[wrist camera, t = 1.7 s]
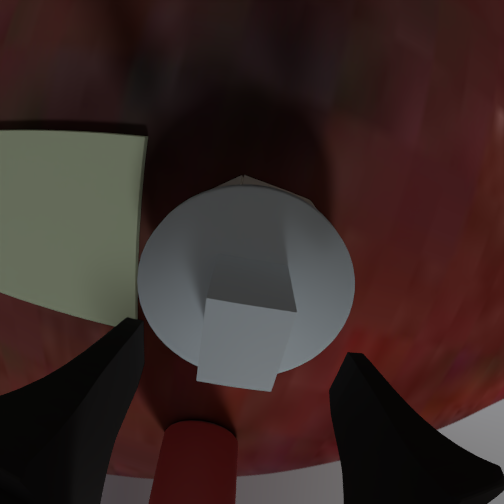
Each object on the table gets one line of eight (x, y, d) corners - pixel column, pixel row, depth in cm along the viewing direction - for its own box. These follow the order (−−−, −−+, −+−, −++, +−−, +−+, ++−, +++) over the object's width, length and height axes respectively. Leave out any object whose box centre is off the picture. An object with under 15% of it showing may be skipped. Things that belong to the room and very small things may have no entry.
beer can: (157, 440, 26) (132, 549, 15) (177, 406, 23) (149, 541, 12) (221, 460, 27) (212, 566, 16) (251, 430, 24) (248, 558, 13)
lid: (142, 348, 17) (119, 405, 13) (149, 167, 13) (107, 191, 9) (316, 375, 17) (327, 435, 14) (377, 210, 13) (419, 248, 10)
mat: (2, 288, 19) (-1, 291, 19) (-11, 130, 14) (-15, 131, 14) (138, 326, 20) (135, 331, 19) (148, 136, 15) (145, 137, 15)
